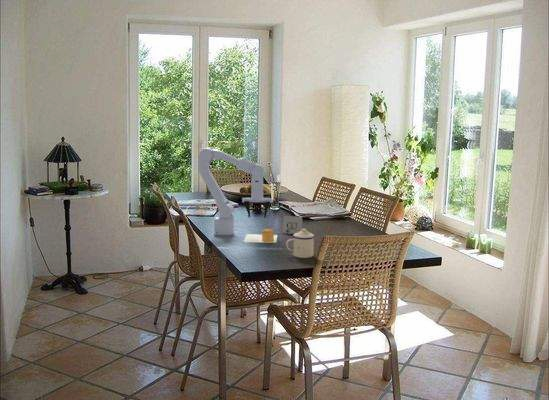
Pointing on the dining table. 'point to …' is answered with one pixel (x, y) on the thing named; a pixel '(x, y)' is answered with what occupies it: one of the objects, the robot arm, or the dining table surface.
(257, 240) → the cover plate
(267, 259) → the dining table surface
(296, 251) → the teacup with lid
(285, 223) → the electrical switch
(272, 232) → the orange cube
